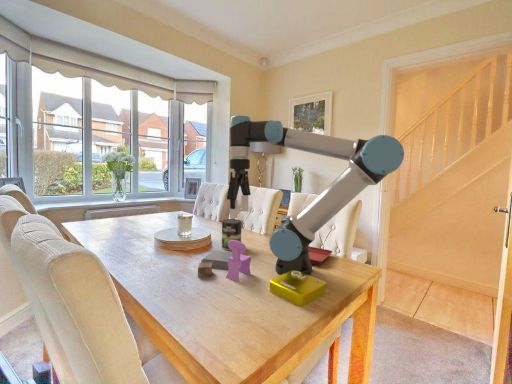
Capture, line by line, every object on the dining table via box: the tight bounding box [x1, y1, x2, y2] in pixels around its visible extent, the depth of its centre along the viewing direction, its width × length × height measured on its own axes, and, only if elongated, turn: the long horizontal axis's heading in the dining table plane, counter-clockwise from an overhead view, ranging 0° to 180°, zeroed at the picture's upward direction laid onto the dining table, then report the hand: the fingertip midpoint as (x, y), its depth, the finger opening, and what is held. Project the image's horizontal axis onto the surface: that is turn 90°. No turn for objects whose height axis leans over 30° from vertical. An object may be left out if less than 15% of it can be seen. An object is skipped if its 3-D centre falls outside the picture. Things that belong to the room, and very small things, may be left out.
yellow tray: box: [269, 270, 327, 307], centre depth 93 cm, size 15×15×5 cm
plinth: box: [200, 249, 232, 270], centre depth 119 cm, size 13×13×3 cm
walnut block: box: [197, 262, 213, 278], centre depth 106 cm, size 5×5×4 cm
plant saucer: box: [309, 245, 333, 267], centre depth 128 cm, size 18×18×3 cm
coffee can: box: [221, 218, 243, 252], centre depth 139 cm, size 10×10×14 cm
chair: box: [225, 240, 252, 282], centre depth 105 cm, size 8×9×15 cm
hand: (239, 214), depth 103 cm, fingers open, 13 cm apart
